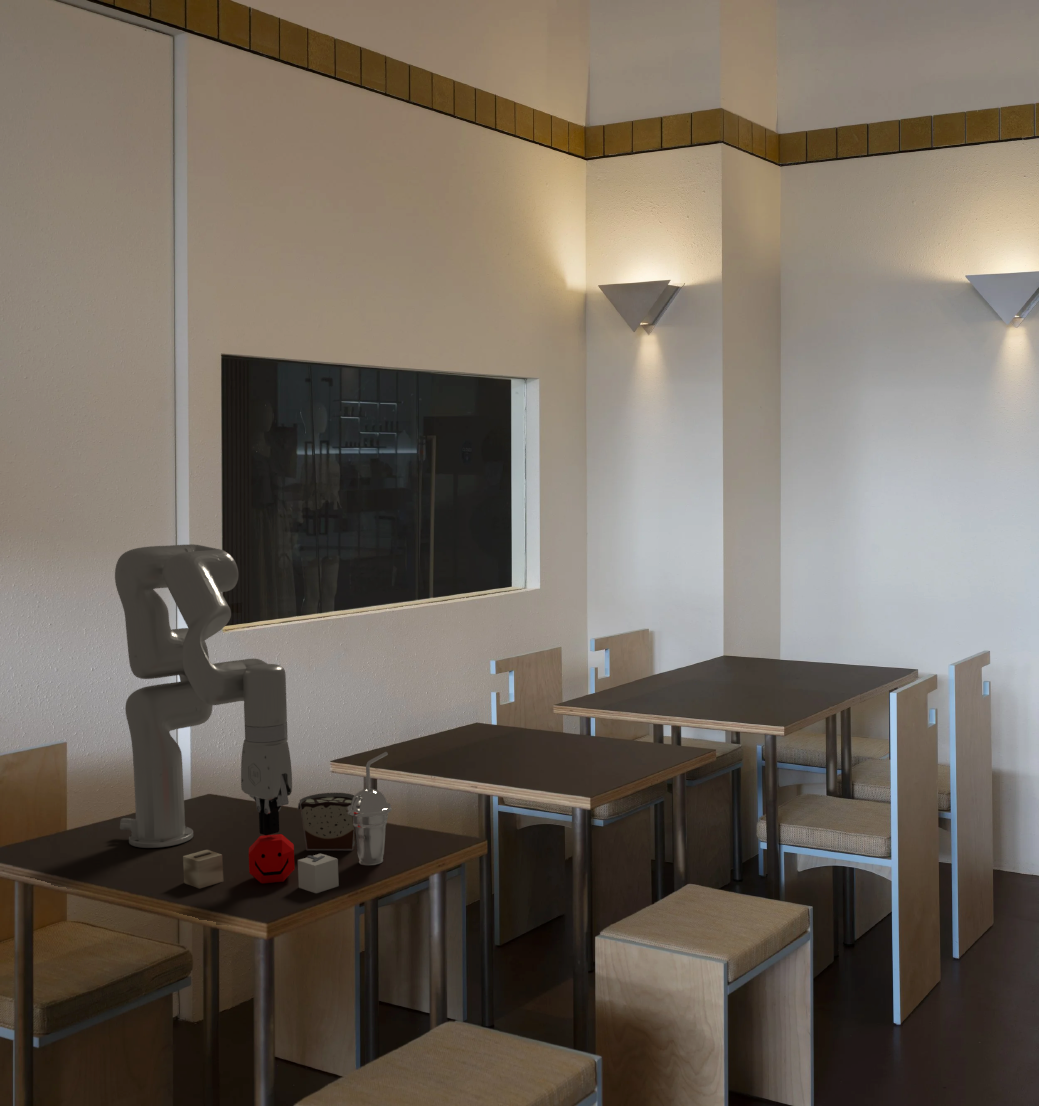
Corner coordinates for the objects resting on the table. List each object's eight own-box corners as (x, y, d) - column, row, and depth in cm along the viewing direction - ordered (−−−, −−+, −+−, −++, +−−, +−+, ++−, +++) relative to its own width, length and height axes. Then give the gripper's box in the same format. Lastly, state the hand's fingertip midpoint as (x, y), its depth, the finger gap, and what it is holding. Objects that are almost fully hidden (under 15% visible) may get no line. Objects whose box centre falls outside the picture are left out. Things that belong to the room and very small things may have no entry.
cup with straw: (342, 859, 232) (338, 755, 231) (387, 851, 236) (383, 749, 235) (356, 871, 224) (352, 764, 223) (402, 863, 228) (399, 757, 227)
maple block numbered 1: (184, 883, 221) (182, 855, 220) (208, 876, 224) (207, 848, 224) (199, 889, 217) (197, 860, 217) (223, 881, 221) (222, 853, 221)
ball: (249, 888, 217) (247, 846, 216) (250, 874, 224) (248, 833, 224) (295, 884, 218) (293, 842, 218) (294, 870, 226) (292, 830, 226)
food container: (367, 841, 243) (365, 791, 243) (360, 850, 237) (358, 799, 237) (307, 841, 245) (305, 791, 244) (298, 850, 239) (296, 799, 238)
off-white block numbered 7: (298, 887, 216) (296, 859, 216) (320, 880, 220) (319, 852, 220) (315, 893, 213) (314, 864, 213) (338, 886, 216) (337, 857, 216)
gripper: (225, 731, 222) (228, 830, 223) (273, 742, 212) (276, 846, 213) (259, 724, 228) (262, 821, 229) (308, 735, 217) (311, 836, 219)
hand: (269, 832), depth 221 cm, fingers closed
